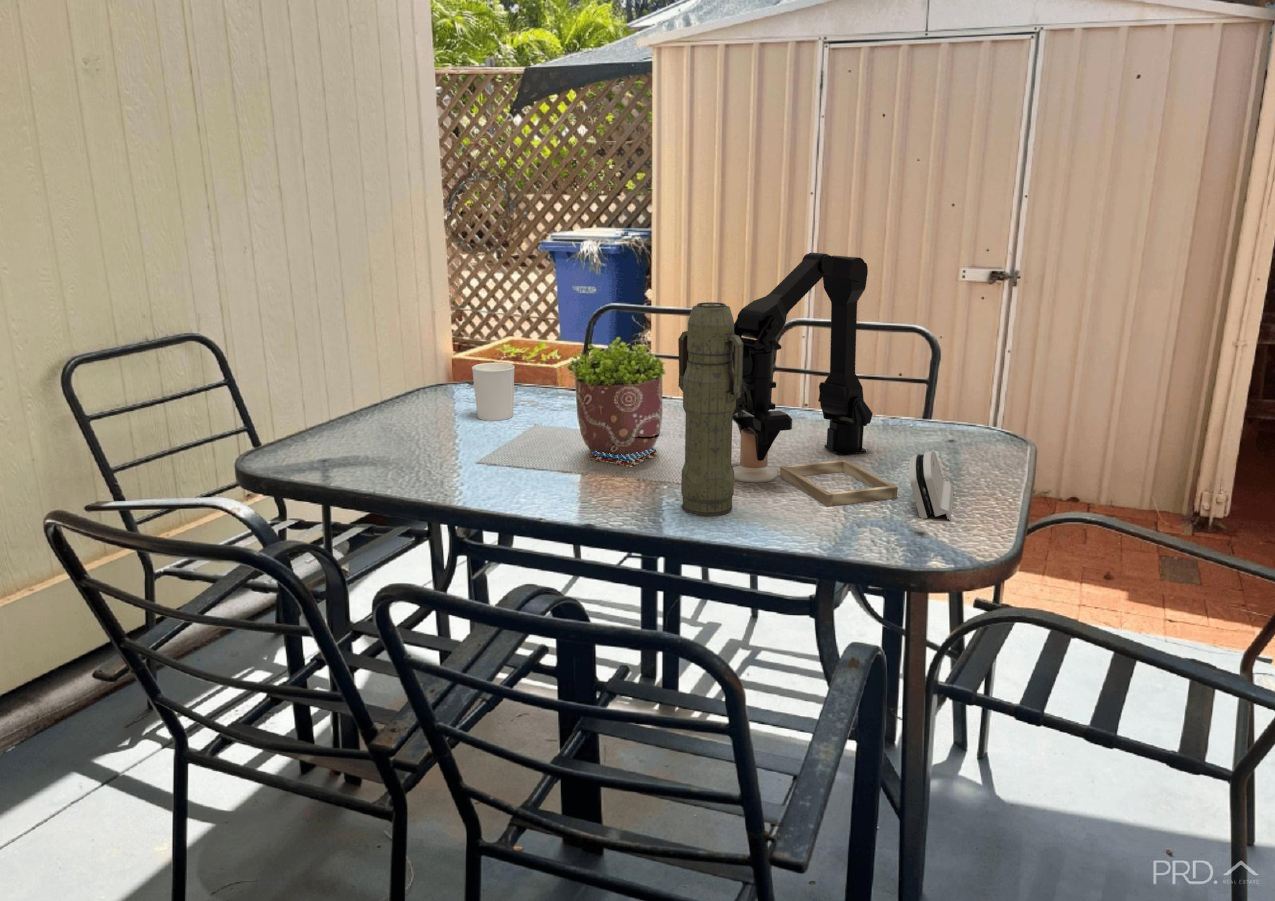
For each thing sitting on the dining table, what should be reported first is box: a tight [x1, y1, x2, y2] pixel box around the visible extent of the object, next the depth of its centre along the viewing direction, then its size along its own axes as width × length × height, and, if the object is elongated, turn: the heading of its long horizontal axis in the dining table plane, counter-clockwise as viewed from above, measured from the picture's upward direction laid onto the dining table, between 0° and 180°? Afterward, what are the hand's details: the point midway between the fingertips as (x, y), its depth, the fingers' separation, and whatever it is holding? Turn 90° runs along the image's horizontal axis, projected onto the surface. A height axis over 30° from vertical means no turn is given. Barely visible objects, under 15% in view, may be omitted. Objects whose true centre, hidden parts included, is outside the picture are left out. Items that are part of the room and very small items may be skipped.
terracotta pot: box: [739, 428, 769, 469], centre depth 187 cm, size 5×5×6 cm
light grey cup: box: [471, 362, 516, 422], centre depth 232 cm, size 10×10×12 cm
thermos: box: [677, 301, 743, 517], centre depth 166 cm, size 9×12×35 cm
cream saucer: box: [732, 465, 778, 484], centre depth 189 cm, size 9×9×1 cm
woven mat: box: [590, 447, 658, 468], centre depth 201 cm, size 10×11×2 cm
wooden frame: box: [779, 459, 899, 507], centre depth 182 cm, size 14×18×2 cm
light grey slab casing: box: [908, 451, 955, 520], centre depth 172 cm, size 17×5×10 cm, turn 162°
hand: (754, 456), depth 188 cm, fingers closed on terracotta pot, 5 cm apart
